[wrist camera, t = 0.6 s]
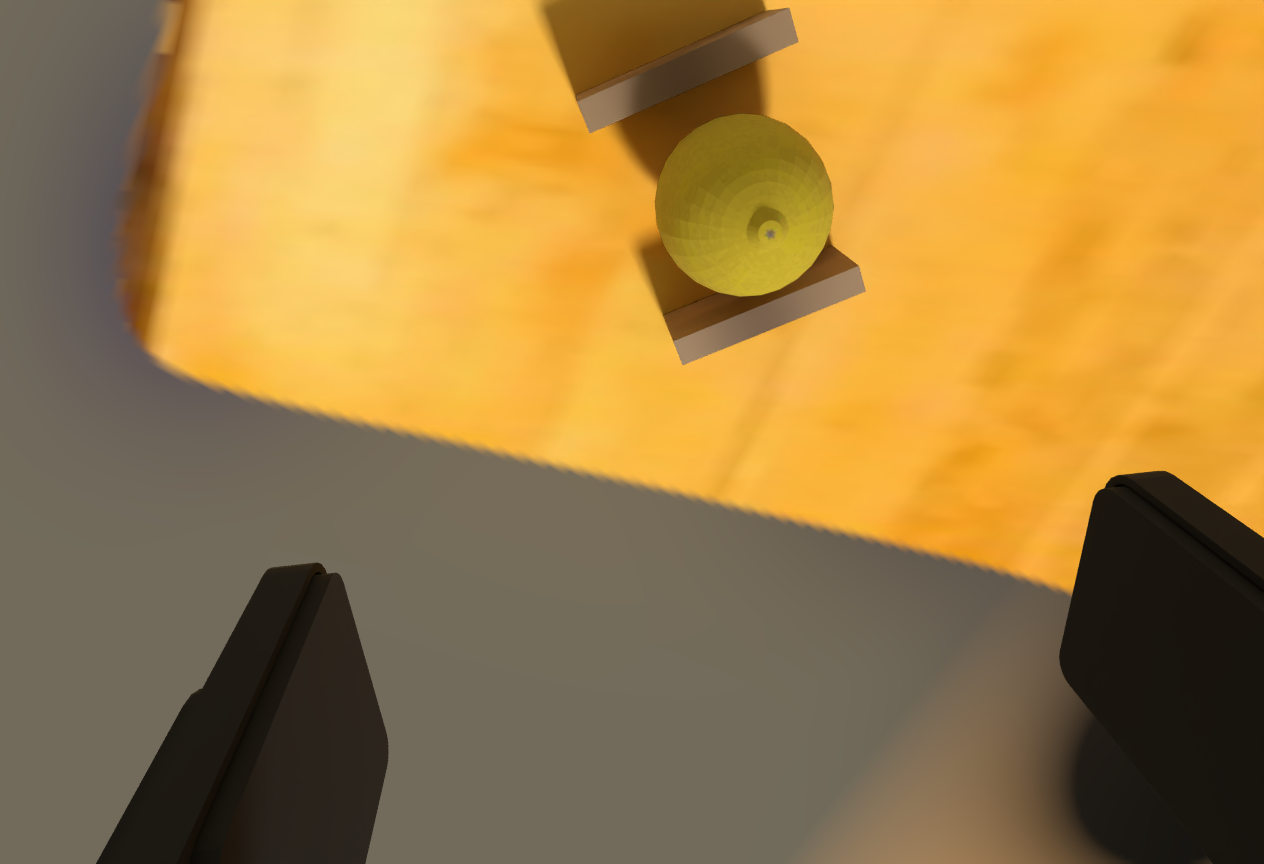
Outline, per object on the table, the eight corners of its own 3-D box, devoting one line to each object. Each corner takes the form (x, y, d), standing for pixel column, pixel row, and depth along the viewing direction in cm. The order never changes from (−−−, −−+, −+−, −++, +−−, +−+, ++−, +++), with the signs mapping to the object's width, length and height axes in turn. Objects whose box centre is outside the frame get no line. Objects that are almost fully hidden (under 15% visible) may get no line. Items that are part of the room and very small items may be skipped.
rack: (766, 10, 27) (789, 7, 24) (838, 269, 31) (865, 291, 28) (575, 95, 27) (577, 102, 25) (672, 337, 32) (682, 365, 29)
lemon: (613, 202, 29) (632, 255, 22) (709, 70, 28) (763, 81, 20) (727, 288, 31) (777, 363, 24) (823, 170, 29) (909, 212, 22)
